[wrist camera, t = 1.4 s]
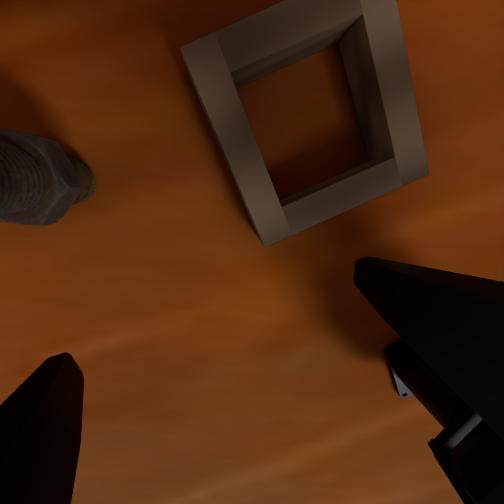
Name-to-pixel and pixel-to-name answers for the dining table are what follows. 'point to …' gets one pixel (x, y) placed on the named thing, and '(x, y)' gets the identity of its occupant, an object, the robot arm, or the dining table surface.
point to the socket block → (362, 88)
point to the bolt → (39, 179)
